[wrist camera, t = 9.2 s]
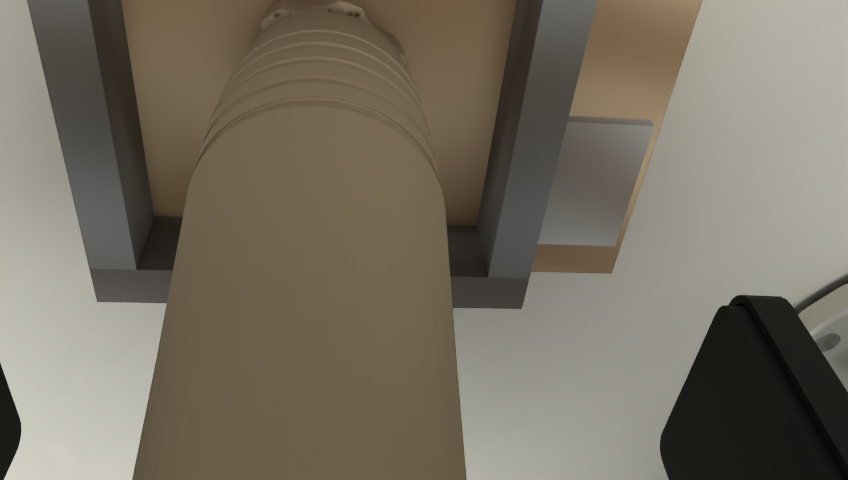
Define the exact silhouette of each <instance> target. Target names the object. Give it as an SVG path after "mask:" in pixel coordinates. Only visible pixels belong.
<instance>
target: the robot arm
mask: <svg viewBox="0 0 848 480" xmlns="http://www.w3.org/2000/svg"><path fill="white" fill-rule="evenodd" d="M20 437H21V422H20V418H19V415H18V412H17V410H16V407H15V404H14V401H13V398H12V395H11V392H10V390H9V387H8V384H7V381H6V378H5V375H4V373H3V370H2V367H1V364H0V480H4V478H5V475H6V473H7V471H8V469H9V467H10V464H11V462H12V460H13V458H14V456H15V454H16V451H17V449H18V446H19V442H20ZM660 452H661V458H662V461H663V464H664V467H665V470H666V473H667V476H668V478H669V480H848V283H847V284H844V285H842V286H840V287H839V288H837V289H835V290H834V291H832V292H831V293H829V294H827V295H826V296H824V297H823V298H821V299H819V300H818V301H816V302H815V303H813V304H811V305H810V306H808V307H807V308H805V309H804V310H803V311H802V312H800V313H799V314H798V315H797V313H796V311H795V310H794V308H793V307H792V305H791V304H790V303H789V302H788V301H787V300H786V299H784V298H782V297H775V296H750V295H739V296H736V297H735V298H733V299H732V300H731V302H730V303H729V305H728V306H722V307H720V308H719V309H718V311H717V312H716V314H715V317H714V319H713V321H712V323H711V325H710V328H709V330H708V332H707V334H706V337H705V339H704V341H703V343H702V345H701V348H700V350H699V352H698V354H697V357H696V359H695V361H694V363H693V365H692V368H691V370H690V372H689V374H688V376H687V379H686V381H685V383H684V385H683V388H682V390H681V392H680V394H679V396H678V399H677V401H676V403H675V405H674V408H673V410H672V412H671V414H670V416H669V419H668V421H667V423H666V425H665V428H664V430H663V432H662V435H661V440H660Z"/></svg>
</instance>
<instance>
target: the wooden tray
mask: <svg viewBox="0 0 848 480" xmlns="http://www.w3.org/2000/svg"><path fill="white" fill-rule="evenodd" d="M278 1H279V0H27V2H28V6H29V10H30V15H31V19H32V23H33V28H34V32H35V36H36V41H37V45H38V49H39V53H40V58H41V62H42V66H43V71H44V75H45V79H46V84H47V88H48V92H49V96H50V101H51V105H52V109H53V114H54V118H55V122H56V127H57V131H58V135H59V139H60V144H61V148H62V152H63V157H64V161H65V165H66V170H67V174H68V178H69V182H70V187H71V191H72V195H73V200H74V204H75V208H76V213H77V217H78V221H79V225H80V230H81V234H82V238H83V243H84V247H85V251H86V256H87V260H88V264H89V268H90V273H91V277H92V281H93V286H94V290H95V294H96V299H97V302H140V303H167V300H168V295H169V289H170V284H171V278H172V273H173V268H174V262H175V257H176V251H177V246H178V241H179V235H180V230H181V224H182V219H183V214H184V208H185V203H186V198H187V192H188V188H189V185H190V182H191V178H192V175H193V172H194V168H195V165H196V162H197V159H198V156H199V152H200V149H201V146H202V143H203V140H204V137H205V133H206V130H207V127H208V125H209V122H210V118H211V116H212V114H213V111H214V109H215V107H216V105H217V103H218V100H219V98H220V96H221V93H222V91H223V89H224V87H225V85H226V83H227V81H228V79H229V77H230V75H231V74H232V72H233V70H234V68H235V67H236V65H237V63H238V61H239V60H240V58H241V57H242V55H243V54H244V53H245V52H246V50H247V49H248V48H249V46H250V45H251V44H252V43H253V42H254V41H255V40H256V38H257V37H258V36H259V35H260V34H261V32H262V28H261V22H262V20H263V18H264V16H265V14H266V12H267V11H268V10H269V9H270V8H271V7H272V6H273V5H274V4H275V3H276V2H278ZM362 3H363V7H364V9H365V11H366V13H367V15H368V16H369V17H370V19H371V20H372V22H373V23H374V24H375V25H376V26H377V27H378V28H379V29H380V30H381V31H383V32H384V33H385V34H387V35H389V36H392V37H395V38H397V40H398V41H399V43H400V45H401V46H402V48H403V50H404V52H405V55H406V58H407V60H408V63H409V67H410V71H411V76H412V79H413V81H414V84H415V86H416V89H417V92H418V94H419V97H420V100H421V103H422V106H423V109H424V113H425V116H426V121H427V124H428V127H429V131H430V134H431V138H432V143H433V148H434V152H435V157H436V162H437V167H438V172H439V178H440V183H441V188H442V193H443V199H444V203H445V212H446V226H447V239H448V253H449V267H450V280H451V294H452V308H507V309H522V306H523V301H524V297H525V293H526V289H527V285H528V281H529V277H530V273H531V272H573V273H612V270H613V267H614V264H615V261H616V258H617V255H618V252H619V249H620V246H621V243H622V240H623V237H624V234H625V231H626V228H627V225H628V222H629V219H630V216H631V213H632V210H633V207H634V204H635V201H636V198H637V195H638V192H639V189H640V186H641V183H642V180H643V177H644V174H645V171H646V168H647V165H648V162H649V159H650V156H651V153H652V150H653V147H654V144H655V141H656V138H657V135H658V132H659V129H660V126H661V123H662V120H663V117H664V114H665V111H666V108H667V105H668V102H669V99H670V96H671V93H672V90H673V87H674V84H675V81H676V78H677V75H678V72H679V69H680V66H681V63H682V60H683V57H684V54H685V51H686V48H687V45H688V42H689V39H690V36H691V33H692V30H693V27H694V24H695V21H696V18H697V15H698V12H699V9H700V6H701V3H702V0H362Z"/></svg>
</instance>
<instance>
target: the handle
mask: <svg viewBox="0 0 848 480" xmlns="http://www.w3.org/2000/svg"><path fill="white" fill-rule="evenodd" d="M261 28H262V32H261V34H260V35H259V36H258V37H257V38H256V40H255V41H254V42H253V43H252V44H251V45H250V46H249V48H248V49H247V50H246V52H245V53H244V54H243V55H242V57H241V58H240V60H239V61H238V63H237V65H236V67H235V68H234V70H233V72H232V74H231V75H230V77H229V79H228V81H227V83H226V85H225V87H224V89H223V91H222V93H221V96H220V98H219V100H218V103H217V105H216V107H215V109H214V111H213V114H212V116H211V118H210V122H209V125H208V127H207V130H206V133H205V137H204V140H203V143H202V146H201V149H200V152H199V156H198V159H197V162H196V165H195V168H194V172H193V175H192V178H191V182H190V185H189V188H188V192H187V198H186V203H185V208H184V214H183V219H182V224H181V230H180V235H179V241H178V246H177V251H176V257H175V262H174V268H173V273H172V278H171V284H170V289H169V295H168V300H167V305H166V311H165V316H164V322H163V327H162V332H161V338H160V343H159V349H158V354H157V359H156V364H155V369H154V374H153V379H152V384H151V389H150V394H149V399H148V404H147V409H146V414H145V419H144V424H143V429H142V434H141V439H140V444H139V449H138V454H137V459H136V464H135V469H134V474H133V479H132V480H466V468H465V457H464V445H463V433H462V421H461V410H460V398H459V386H458V375H457V362H456V349H455V335H454V321H453V308H452V294H451V280H450V267H449V253H448V239H447V226H446V212H445V203H444V199H443V193H442V188H441V183H440V178H439V172H438V167H437V162H436V157H435V152H434V148H433V143H432V138H431V134H430V131H429V127H428V124H427V121H426V116H425V113H424V109H423V106H422V103H421V100H420V97H419V94H418V92H417V89H416V86H415V84H414V81H413V79H412V76H411V71H410V67H409V63H408V60H407V58H406V55H405V52H404V50H403V48H402V46H401V45H400V43H399V41H398V40H397V38H395V37H392V36H389V35H387V34H385V33H384V32H383V31H381V30H380V29H379V28H378V27H377V26H376V25H375V24H374V23H373V22H372V20H371V19H370V17H369V16H368V15H367V13H366V11H365V9H364V7H363V3H362V0H279V1H278V2H276V3H275V4H274V5H273V6H272V7H271V8H270V9H269V10H268V11H267V12H266V14H265V16H264V18H263V20H262V22H261Z"/></svg>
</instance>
